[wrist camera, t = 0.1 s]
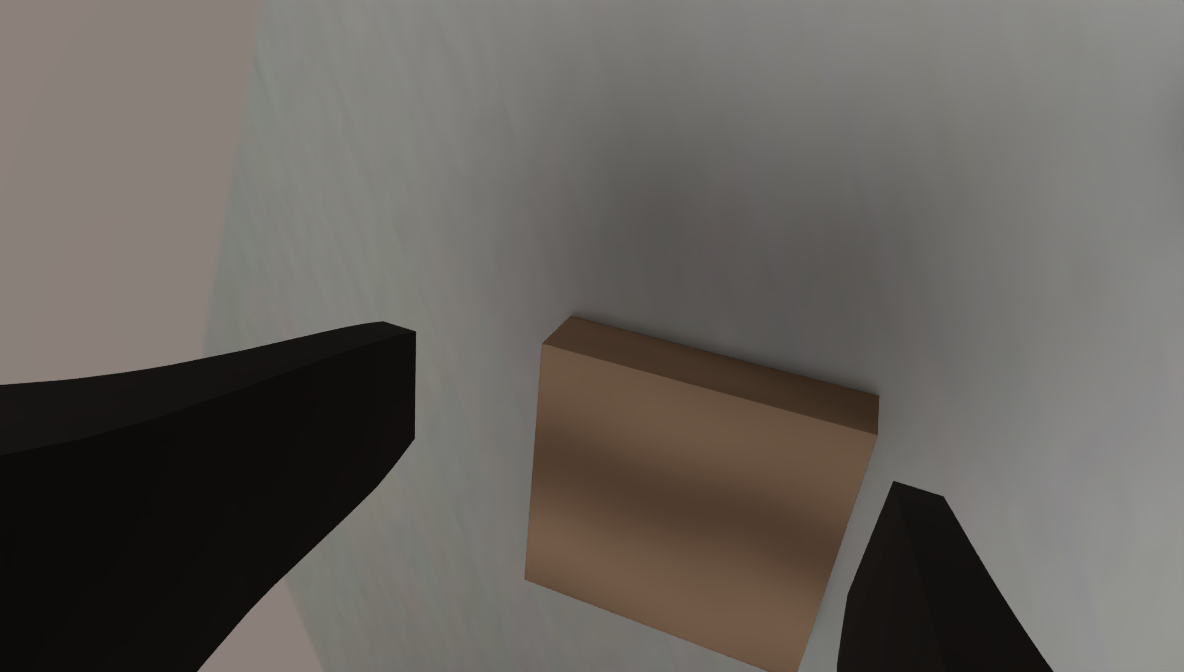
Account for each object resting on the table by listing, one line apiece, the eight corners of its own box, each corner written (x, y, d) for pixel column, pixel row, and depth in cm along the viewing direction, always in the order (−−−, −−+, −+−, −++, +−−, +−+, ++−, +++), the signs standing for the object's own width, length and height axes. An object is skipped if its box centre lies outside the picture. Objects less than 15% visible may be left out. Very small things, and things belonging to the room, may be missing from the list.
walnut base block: (803, 620, 24) (794, 681, 21) (554, 532, 26) (524, 579, 24) (879, 388, 20) (877, 435, 17) (576, 311, 22) (541, 343, 20)
